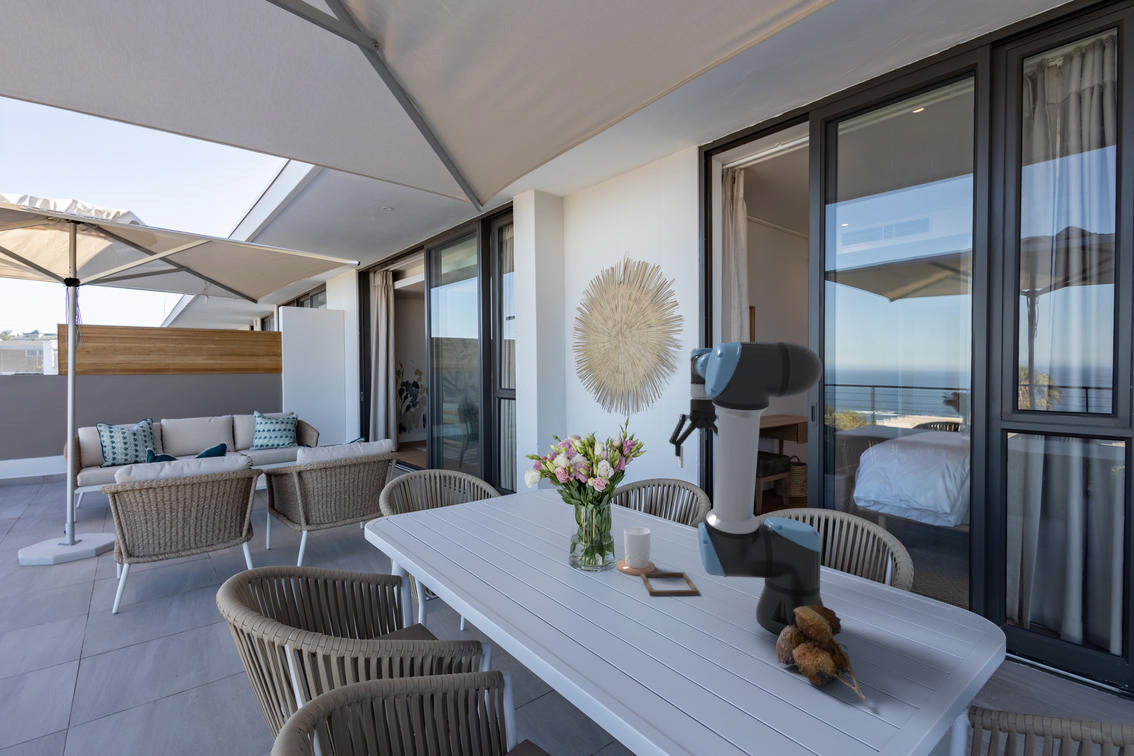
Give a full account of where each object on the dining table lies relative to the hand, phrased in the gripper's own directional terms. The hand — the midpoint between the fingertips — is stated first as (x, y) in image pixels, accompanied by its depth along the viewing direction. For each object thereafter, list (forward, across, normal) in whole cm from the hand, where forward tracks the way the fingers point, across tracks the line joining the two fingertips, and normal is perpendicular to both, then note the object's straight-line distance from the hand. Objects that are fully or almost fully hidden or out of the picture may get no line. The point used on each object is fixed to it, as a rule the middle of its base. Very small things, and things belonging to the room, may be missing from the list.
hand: (702, 467), depth 158 cm
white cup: (+28, +22, +6) cm, 36 cm away
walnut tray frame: (+28, +16, +19) cm, 38 cm away
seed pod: (+29, -2, +60) cm, 67 cm away
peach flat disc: (+28, +22, +6) cm, 36 cm away
